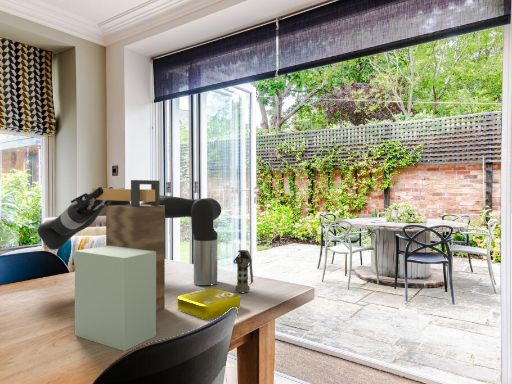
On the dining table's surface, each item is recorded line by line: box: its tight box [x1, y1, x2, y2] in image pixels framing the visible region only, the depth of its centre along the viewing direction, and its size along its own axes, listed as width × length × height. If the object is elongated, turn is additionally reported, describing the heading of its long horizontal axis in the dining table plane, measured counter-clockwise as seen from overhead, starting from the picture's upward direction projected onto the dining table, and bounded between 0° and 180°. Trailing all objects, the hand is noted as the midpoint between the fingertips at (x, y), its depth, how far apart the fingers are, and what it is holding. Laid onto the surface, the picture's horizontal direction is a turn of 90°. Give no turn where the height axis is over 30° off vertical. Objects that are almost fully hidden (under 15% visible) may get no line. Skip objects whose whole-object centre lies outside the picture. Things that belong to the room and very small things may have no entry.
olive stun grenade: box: [233, 249, 254, 293], centre depth 132 cm, size 6×7×15 cm
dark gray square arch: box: [130, 179, 161, 207], centre depth 110 cm, size 2×10×8 cm, turn 151°
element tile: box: [177, 286, 241, 320], centre depth 115 cm, size 15×15×5 cm
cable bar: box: [91, 188, 155, 203], centre depth 115 cm, size 24×4×4 cm, turn 61°
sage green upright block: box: [74, 245, 157, 352], centre depth 94 cm, size 18×10×22 cm, turn 61°
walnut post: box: [105, 203, 166, 312], centre depth 112 cm, size 12×12×32 cm
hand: (107, 189), depth 118 cm, fingers closed on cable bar, 3 cm apart
